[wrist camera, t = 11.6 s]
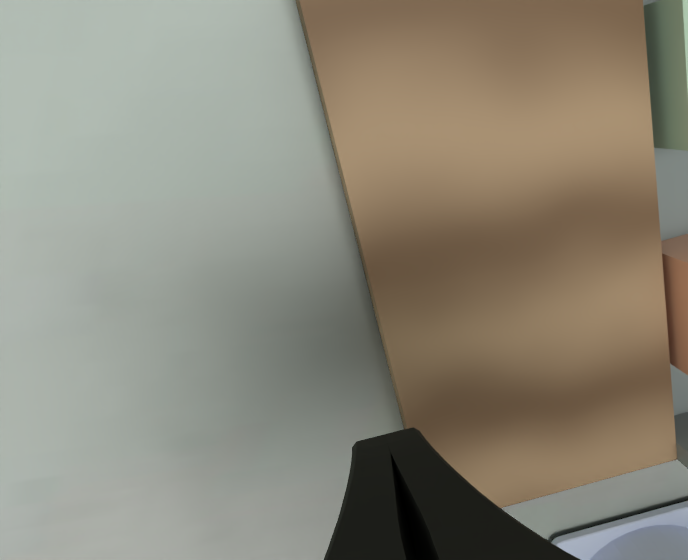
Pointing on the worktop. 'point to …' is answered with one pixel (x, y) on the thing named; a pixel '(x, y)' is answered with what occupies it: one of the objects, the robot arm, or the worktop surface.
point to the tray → (675, 220)
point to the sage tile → (668, 71)
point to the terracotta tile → (676, 298)
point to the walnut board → (506, 228)
